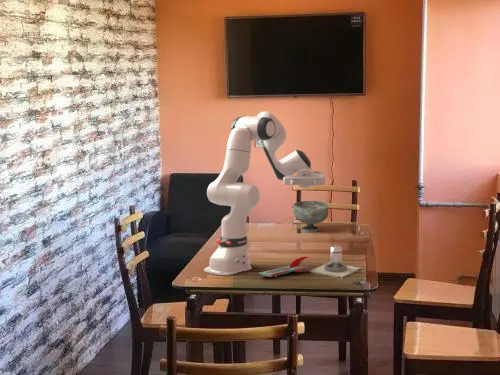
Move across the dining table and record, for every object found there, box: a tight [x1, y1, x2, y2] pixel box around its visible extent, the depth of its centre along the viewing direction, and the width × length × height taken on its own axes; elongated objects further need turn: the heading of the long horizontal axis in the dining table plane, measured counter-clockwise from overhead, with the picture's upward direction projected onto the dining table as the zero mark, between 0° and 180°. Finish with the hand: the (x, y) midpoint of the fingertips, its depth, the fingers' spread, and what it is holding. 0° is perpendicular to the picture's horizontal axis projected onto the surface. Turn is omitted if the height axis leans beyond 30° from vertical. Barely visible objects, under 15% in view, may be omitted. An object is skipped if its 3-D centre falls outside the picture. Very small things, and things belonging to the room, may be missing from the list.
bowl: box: [292, 200, 330, 233], centre depth 398 cm, size 20×19×15 cm
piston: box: [329, 245, 343, 268], centre depth 320 cm, size 5×5×10 cm
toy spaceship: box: [257, 256, 318, 278], centre depth 317 cm, size 27×11×5 cm, turn 128°
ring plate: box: [310, 261, 361, 279], centre depth 321 cm, size 16×16×2 cm
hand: (303, 183), depth 343 cm, fingers open, 8 cm apart
